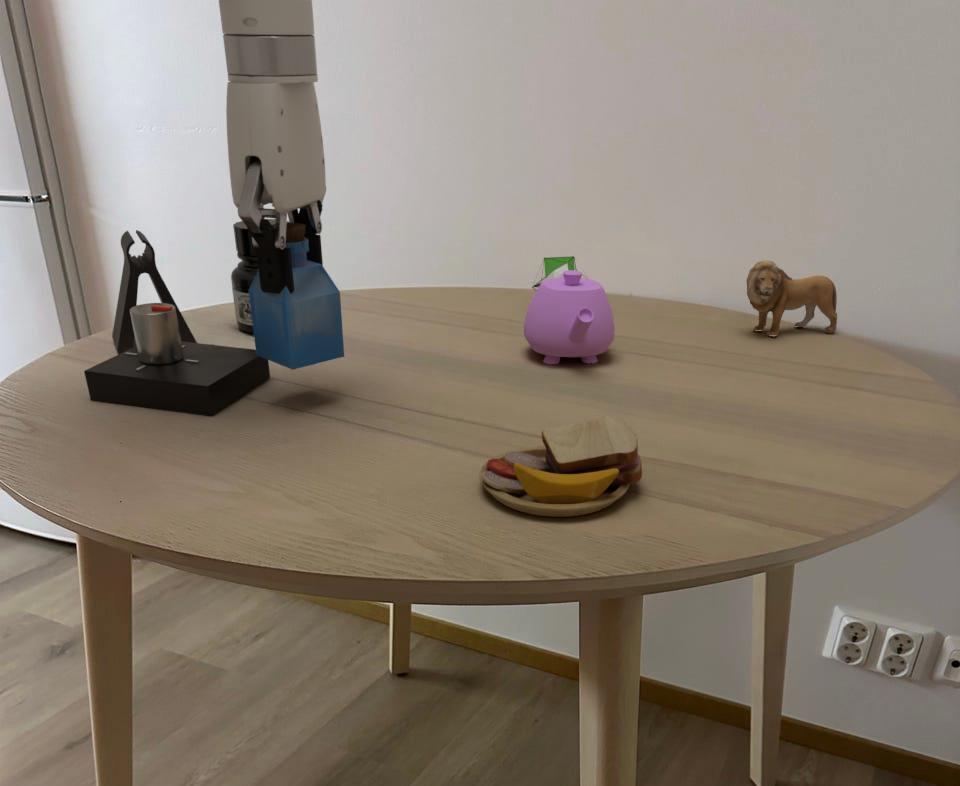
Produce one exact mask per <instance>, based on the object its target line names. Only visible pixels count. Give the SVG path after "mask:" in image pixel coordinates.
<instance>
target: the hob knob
mask: <svg viewBox="0 0 960 786" xmlns="http://www.w3.org/2000/svg"><path fill="white" fill-rule="evenodd" d="M130 315H131V320H132V325H133V330H134V335H135V340H136V346H137V351H138V356H139V360H140V361H141V362H143V363H146V364H168V363H173V362H176V361H179V360H181V359H182V358H183V350H182V344H181V339H180V333H179V327H178V321H177V315H176V309H175V306H174V305H171V304H167V303H161V302H149V303H142V304H141V303H140V304H137V306H134V307H132V308H131V309H130Z"/></svg>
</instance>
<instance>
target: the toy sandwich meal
mask: <svg viewBox="0 0 960 786" xmlns="http://www.w3.org/2000/svg"><path fill="white" fill-rule="evenodd" d="M541 439H542V443H543V445H541V446H540V445H539V446H529V447H521V448H516V449H512V450H507V451H504V452H502V453H500V454H498V455H495V456H493V457H492V458H490V459H488V460H487V461H486V462H485V463H484V464H483V465H482V467H481V468H480V470H479V474H478V475H479V481H480V484H481V485H482V486H483V488H485V490H486V491H488V493H489V494H491V496H492V497H493V498H494V499H495V500H496V501H498V502H499V503H500V504H501V505H504V506H506V507H508V508H510V509H513V510H515V511H518V512H522V513H525V514H529V515H533V516H539V517H540V516H541V517H551V518H570V517H579V515H580V516H585V514H586V515H590V514H593V512H594V513H596V511H597V512H599V511H601V509H602V510H604V509H606V508H608V507H609V506H611V505H612V504H613V503H614V502H615V501H617V500H619V499H620V498H622V496H624V495H625V494H626V492H627V491H628V489H629V487H630V484H636V483H638V482H640V481H641V480H642V477H643V465H642V464H643V463H642V460H641V456H640V455H639V453H638V451H639V445H638V438H637V435H636V433H635V431H634V430H633V428H631V426H629V425H628V423H626V422H625V421H623V420H621V419H620V418H618V417H615V416H612V415H604V416H602V417H600V418H598V419H597V418H596V419H592V420H588V421H582V422H581V421H580V422H576V423H571V424H564V425H560V426H555V427H549V428H545V429H542V430H541ZM607 506H608V507H607ZM603 508H604V509H603ZM589 513H590V514H589Z"/></svg>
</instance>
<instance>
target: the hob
mask: <svg viewBox="0 0 960 786" xmlns="http://www.w3.org/2000/svg"><path fill="white" fill-rule="evenodd" d="M181 344H182V350H183V358H182V359H181V360H179V361H176V362H173V363H168V364H146V363H143V362H141V361H140V360H139V356H138V351H137V346H136V347H133V348H131V349H129V350H127V351H125V352H123V353H121V354H119V353H118V354H117V355H115V356H112V357H110V358H108V359H106V360H104V361H102V362H100V363H98V364H96V365H94V366H92V367H89V368H87V369H85V370H84V372H83V373H84V377H85V380H86V386H87V390H88V394H89V398H90V400H91V401H95V402H96V401H97V402H104V403H111V404H118V405H119V404H120V405H127V406H135V407H141V408H150V409H156V410H164V411H172V412H178V413H185V414H186V413H187V414H195V415H201V416H210V417H213V416H215V415H217V414H218V413H219V412H221V411H223V410H225V408H227V407H229V406H230V405H232V404H233V403H235V402H237V401H238V400H240V399H241V398H243V397H244V396H246V395H247V394H249V393H250V392H252V391H253V390H256V388H258V387H259V386H261V385H262V384H264V383H266V382H268V381H269V380H270V379H271V371H270V364H269V363H270V362H269V360H267V359H265V358H263V357H260V356H258V355H256V349H254V348H245V347H243V348H242V347H235V346H226V345H219V344H208V343H199V342H197V343H192V342H183V341H181Z"/></svg>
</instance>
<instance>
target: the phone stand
mask: <svg viewBox="0 0 960 786" xmlns="http://www.w3.org/2000/svg"><path fill="white" fill-rule="evenodd" d="M135 234H136V235H137V237H138V239H139V240H140V241H141V243H143V244H145V246H144V250H143V252H142V254H141V255H140V254H138V255H137V256H136V255H135V254H133V256H132V255H131V253H130V249H131V248H132V246H133V245H134V244H136V242H135V239H134V238H133V236H132V235H131V233H130V231H129V230H126V231H124V232H123V233H122V236H121V237H120V248H121V249H122V254H123V265H122V266H123V267H122V272H121V279H120V284H119V291H118V297H117V303H116V309H115V315H114V322H113V329H112V335H111V337H112V341H113V343H114V346H115V349H116V352H117V353H118V355H119V354H121V353H123V352H125V351H127V350H129V349H131V348H133V347H136V340H135V335H134V330H133V325H132V320H131V315H130V309H131V308H132V307H134V306H137V305H138V304H137V303H138V293H139V292H138V289H139V278H140V276H141V275H143V274H147V275H148V276H149V278H150V280H151V283H152V285H153V287H154V290H155V292H156V294H157V297H158V299H159V301H160V303H167V304H171V305H174V306H175V309H176V315H177V321H178V327H179V333H180V339H181V341H183V342H192V343H198V342H197V340H196V338H195V336H194V334H193V333H192V330H191V328H190V327H189V326H188V325H189V324H188V323H187V321H186V320H185V318H184V316H183V314H182V312H181V310H180V308H179V307H178V305H177V303H176V301H175V300H174V297H173V295H172V294H171V292H170V290H169V289H168V287H167V285H166V283H165V281H164V279H163V277H162V276H161V274H160V272H159V269H158V267H157V263H156V252H155V249H154V247H153V245H152V244H151V243H150V241H149V240H148V238H147V237H146V235H145V234H144V233H142V232H141V231H140V230H138V229H136V230H135Z"/></svg>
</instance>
